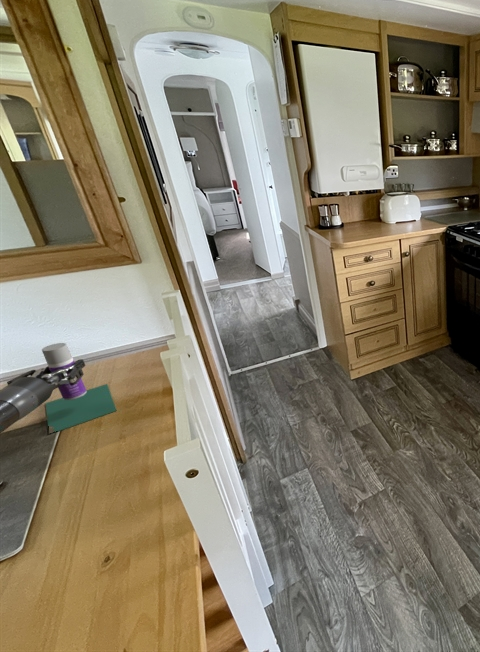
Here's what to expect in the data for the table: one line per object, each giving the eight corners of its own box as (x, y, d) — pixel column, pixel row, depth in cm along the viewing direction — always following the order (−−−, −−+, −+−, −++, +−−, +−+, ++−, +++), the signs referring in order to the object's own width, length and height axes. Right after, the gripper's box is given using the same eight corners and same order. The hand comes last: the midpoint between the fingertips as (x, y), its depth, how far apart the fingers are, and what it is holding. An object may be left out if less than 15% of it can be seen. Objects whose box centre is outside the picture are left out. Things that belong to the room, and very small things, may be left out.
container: (73, 400, 101) (51, 351, 95) (58, 399, 101) (35, 350, 96) (91, 390, 105) (71, 343, 100) (76, 389, 105) (56, 342, 100)
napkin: (116, 410, 104) (116, 410, 104) (49, 434, 95) (48, 433, 95) (107, 384, 115) (106, 383, 115) (45, 403, 106) (45, 403, 106)
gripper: (47, 383, 87) (97, 348, 103) (-30, 390, 84) (33, 353, 100) (59, 410, 90) (106, 372, 105) (-15, 417, 87) (44, 377, 102)
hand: (70, 363), depth 102 cm, fingers closed on container, 4 cm apart
